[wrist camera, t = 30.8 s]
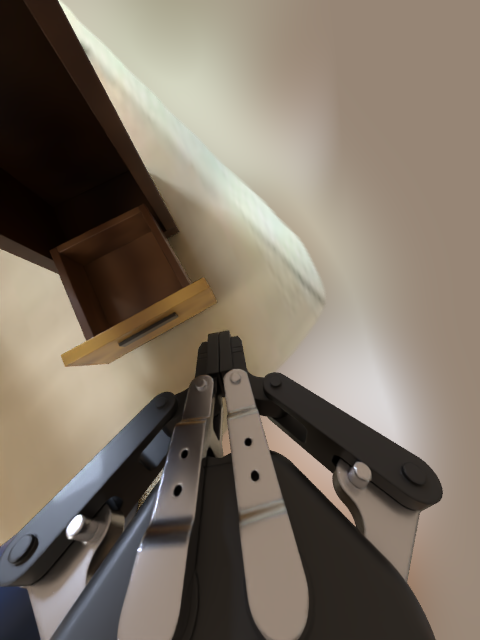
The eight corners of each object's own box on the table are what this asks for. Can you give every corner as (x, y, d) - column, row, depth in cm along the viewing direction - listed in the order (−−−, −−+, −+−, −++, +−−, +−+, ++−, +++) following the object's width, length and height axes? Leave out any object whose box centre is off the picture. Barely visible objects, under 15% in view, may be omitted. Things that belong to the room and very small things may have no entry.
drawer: (109, 366, 17) (66, 370, 13) (69, 273, 19) (20, 250, 15) (219, 305, 18) (211, 290, 14) (170, 222, 20) (151, 186, 16)
